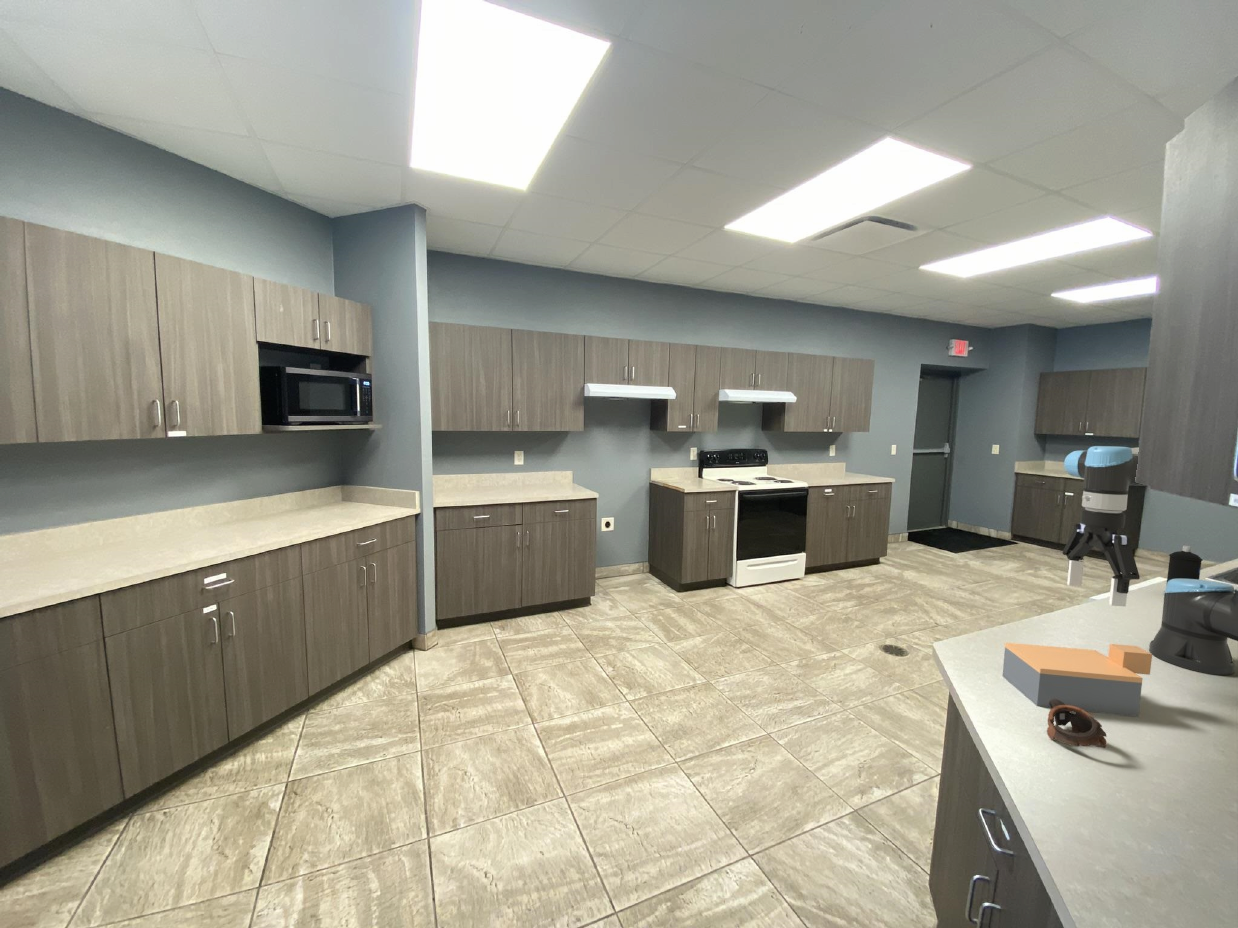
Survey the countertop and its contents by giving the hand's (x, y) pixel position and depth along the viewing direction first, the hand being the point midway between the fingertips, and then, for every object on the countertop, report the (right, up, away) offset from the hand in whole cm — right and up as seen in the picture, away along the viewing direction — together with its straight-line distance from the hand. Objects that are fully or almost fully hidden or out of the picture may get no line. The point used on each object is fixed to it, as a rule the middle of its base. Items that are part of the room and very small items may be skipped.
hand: (1094, 594), depth 115 cm
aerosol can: (+99, -19, +64) cm, 119 cm away
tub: (-8, -24, -1) cm, 26 cm away
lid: (-6, -17, -2) cm, 18 cm away
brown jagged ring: (-22, -26, -17) cm, 38 cm away
